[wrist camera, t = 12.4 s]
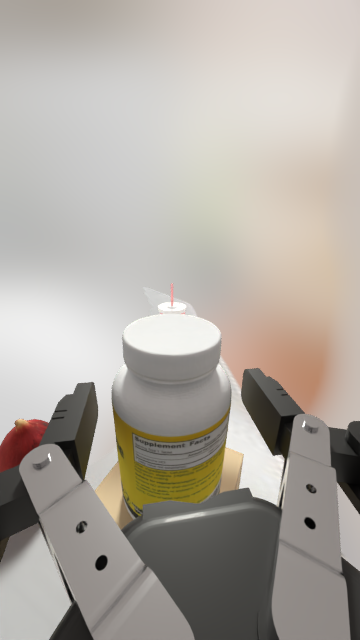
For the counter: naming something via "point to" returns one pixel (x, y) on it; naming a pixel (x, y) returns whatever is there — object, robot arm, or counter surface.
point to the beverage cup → (172, 306)
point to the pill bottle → (170, 411)
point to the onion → (21, 442)
